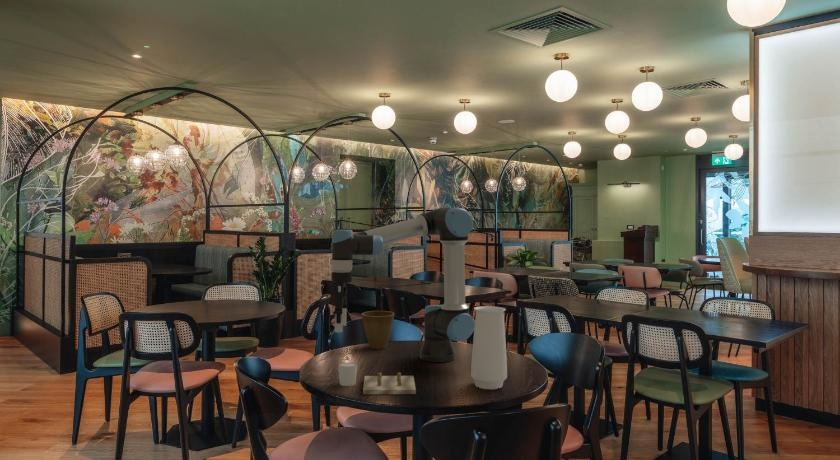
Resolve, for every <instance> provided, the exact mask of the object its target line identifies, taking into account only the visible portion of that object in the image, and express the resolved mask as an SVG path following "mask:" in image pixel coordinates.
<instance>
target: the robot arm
mask: <svg viewBox="0 0 840 460" xmlns="http://www.w3.org/2000/svg"><path fill="white" fill-rule="evenodd" d="M472 217H473V216H472V215H471V214H470V213H469V211H467V209H465V208H463V207H462V208H461V207H439V208H436V209H432V210H430V211H427V212H424V213H420V214H417V215H416V216H415V218H411V219H407V220H402V221H400V222H398V221H397V222H394V223H390V224H387V225H383V226H380V227H376V228H372V229H367V230H364V231H360V232H356V233H354V232H353V229H335V230H333V231H332V237H331V262H330V265H331V271H332V272H331V280H330V281H331V282H332V283H337V286H336V287H335V304H334V311H333V312H332V314H333V315H334V333H343V330H344V329H343V327H345V326H347V310H348V308H349V307H350V306H349V305H348V283H349V284H350V283H351V282H352V281H353V272H352V270H353V256H378V255H381V254H382V252H383V250H384V246H386V245H389V244H393V243H397V242H400V241H404V240H408V239H412V238H415V237H419V236H421V237H423V238H425V237H429V236H439V242H440V243H441V244H442V246H443V286H444V287H443V291H444V292H443V293H444V294H443V296H444V297H443V298H444V301H443V304H433V305H432V304H431V305H426V306H425V308H424V314H423V315H424V321H423V322H424V325H423V327H424V331H423V332H424V334H423V335H424V338H423V339H424V340H423V343H422V346H421V349H420V353H419V358H420V360H422V361H426V362H431V363H432V362H433V363H445V362H451V361H454V360H456V352H455V349H454V345H453V343H452V341H454V342H455V341H456V342H464V341H466V340H468V339H469V338H470V337H471V336H472V334H474V328H475V319H474V318H473V316H472V315H470V306H469V305H468V304H467V303H466V267H465V266H466V263H465V262H466V260H465V259H466V257H465V256H466V255H465V245H466V244H467V243H468V241H469V235H470V234H471V232H472V231H473V229H474V219H473V218H472Z"/></svg>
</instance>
